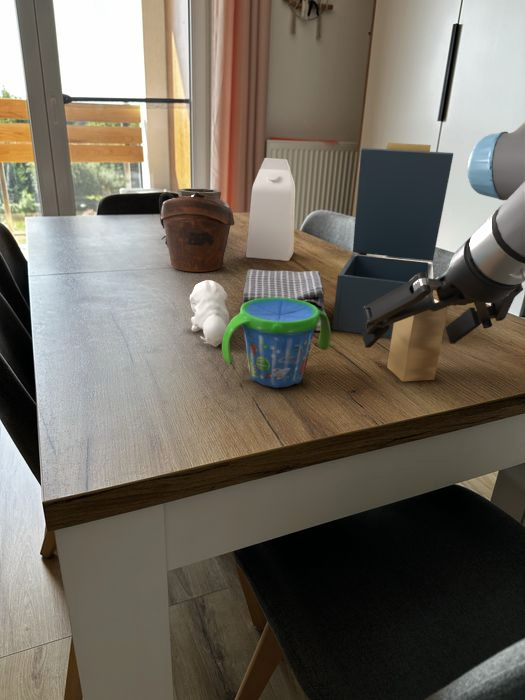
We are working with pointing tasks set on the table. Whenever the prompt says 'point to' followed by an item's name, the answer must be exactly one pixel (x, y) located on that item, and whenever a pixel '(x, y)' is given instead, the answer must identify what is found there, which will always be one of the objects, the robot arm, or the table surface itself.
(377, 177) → the chest lid
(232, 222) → the brown pot
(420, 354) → the beech block
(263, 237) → the milk
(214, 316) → the white animal figurine
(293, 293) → the towel
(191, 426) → the table surface
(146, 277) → the table surface
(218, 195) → the mug
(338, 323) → the chest
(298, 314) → the snack cup
